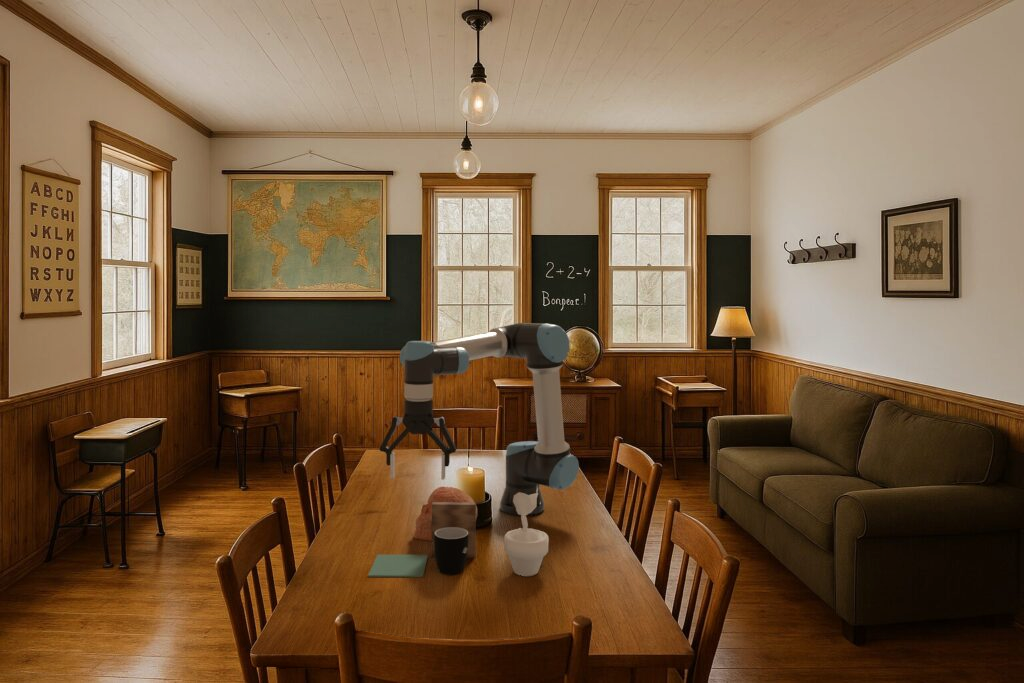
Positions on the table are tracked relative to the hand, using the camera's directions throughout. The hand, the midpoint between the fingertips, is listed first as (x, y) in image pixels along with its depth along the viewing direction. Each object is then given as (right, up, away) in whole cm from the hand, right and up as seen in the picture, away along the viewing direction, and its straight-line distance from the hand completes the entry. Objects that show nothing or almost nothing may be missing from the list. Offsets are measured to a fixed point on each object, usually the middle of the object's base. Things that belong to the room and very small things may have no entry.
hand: (417, 477), depth 179 cm
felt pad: (-5, -23, 0) cm, 24 cm away
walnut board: (+9, -23, +8) cm, 26 cm away
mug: (+9, -24, -1) cm, 26 cm away
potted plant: (+29, -24, -2) cm, 38 cm away
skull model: (+5, -23, +22) cm, 32 cm away
